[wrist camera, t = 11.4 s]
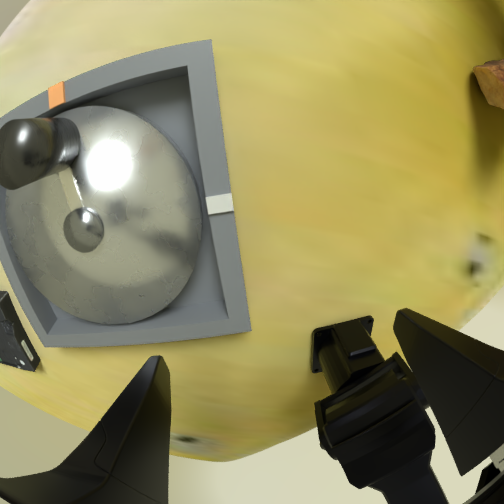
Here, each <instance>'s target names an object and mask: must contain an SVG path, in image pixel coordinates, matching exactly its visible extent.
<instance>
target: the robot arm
mask: <svg viewBox="0 0 504 504" xmlns="http://www.w3.org/2000/svg"><path fill="white" fill-rule="evenodd" d="M373 322H374V319H373V318H372V316H365V317H361V318H358V319H354V320H350V321H346V322H342V323H338V324H334V325H329V326H325V327H321V328H317V329H315V330H314V331H313V337H312V360H311V370H312V372H313V373H318V372H322V371H323V373H324V376H325V378H326V380H327V383H328V385H329V388H330V390H331V393H332V395H330V396H328V397H326V398H324V399H323V400H321V401H320V400H319V401H317V402H315V403H314V404H315V415H316V421H317V428H318V434H319V440H320V447H321V448H322V449H324V450H326V451H327V453H328V454H329V455H330V456H331V457H332V458H333V459H334V460H338V461H339V462H340V464H341V466H342V468H343V470H344V472H345V474H346V476H347V479H348V481H349V483H350V484H352V485H353V486H355V487H357V488H358V489H362V488H364V487H366V486H368V487H371V488H373V489H375V490H378V491H380V492H382V494H383V495H384V497H385V499H386V501H387V503H388V504H449V502H448V500H447V498H446V496H445V493H444V491H443V489H442V487H441V485H440V483H439V481H438V479H437V477H436V475H435V473H434V471H433V469H432V467H431V465H430V461H431V456H432V450H433V449H434V448H435V437H436V436H435V428H434V426H433V424H432V422H431V420H430V418H429V416H428V415H427V413H426V411H425V409H427V408H428V407H429V406H430V407H431V409H432V411H433V413H434V415H435V417H436V419H437V421H438V424H439V426H440V428H441V430H442V432H443V434H444V437H445V438H446V442H447V444H448V446H449V449H450V451H451V453H452V456H453V458H454V461H455V463H456V466H457V468H458V471H459V473H460V475H461V476H463V475H465V474H466V473H467V472H469V471H470V470H471V469H473V468H474V467H476V466H477V465H478V464H480V463H481V462H482V461H483V460H485V459H486V458H487V457H489V456H490V458H491V460H492V462H491V463H490V464H489V465H488V466H486V467H485V468H484V469H483V470H482V473H481V476H480V480H479V483H478V486H477V490H476V493H475V495H474V496H473V497H471V498H470V499H469V500H467V501H466V502H465V503H463V504H504V351H503V350H500V349H497V348H494V347H492V346H490V345H487V344H485V343H483V342H481V341H478V340H476V339H474V338H472V337H470V336H468V335H465V334H463V333H461V332H459V331H457V330H455V329H452V328H450V327H448V326H446V325H443V324H441V323H439V322H437V321H435V320H432V319H430V318H428V317H426V316H424V315H421V314H419V313H417V312H415V311H412V310H410V309H408V308H404V309H401V310H398V311H397V313H396V317H395V321H394V325H393V330H394V333H395V335H396V337H397V340H398V342H399V344H400V347H401V349H402V351H403V354H404V356H405V358H406V361H407V362H408V364H409V366H410V368H411V370H412V371H411V370H410V368H409V367H408V366H407V364H406V363H405V362H404V360H403V359H402V358H401V356H400V355H399V354H398V352H395V353H394V354H392V356H391V357H390V358H388V359H387V360H386V361H385V360H384V358H383V356H382V355H381V353H380V352H379V350H378V349H377V346H376V344H375V343H374V341H373V340H372V338H371V337H370V336H371V332H372V327H373ZM317 333H318V334H317ZM170 426H171V389H170V372H169V369H168V367H167V365H166V363H165V361H164V359H163V357H162V356H160V355H159V356H151V357H150V358H149V359H148V360H147V361H146V363H145V364H144V365H143V366H142V368H141V369H140V370H139V371H138V373H137V374H136V375H135V377H134V378H133V379H132V380H131V382H130V383H129V384H128V385H127V387H126V388H125V389H124V390H123V392H122V393H121V394H120V395H119V397H118V398H117V399H116V400H115V402H114V403H113V404H112V406H111V407H110V408H109V409H108V411H107V412H106V413H105V414H104V416H103V417H102V418H101V421H99V422H98V423H97V425H96V426H95V427H94V428H93V430H92V431H91V432H90V433H89V435H88V436H87V437H86V438H85V439H84V440H83V441H82V442H81V443H80V445H78V447H77V448H76V449H75V450H74V451H73V452H72V453H71V454H70V455H69V456H68V457H67V458H66V459H65V460H64V461H63V462H62V463H61V464H60V465H59V466H57V467H56V468H54V469H52V470H50V471H47V472H42V473H38V474H33V475H28V476H22V477H15V478H0V497H1V498H2V499H4V500H6V501H7V502H9V503H10V504H168V473H169V444H170Z"/></svg>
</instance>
